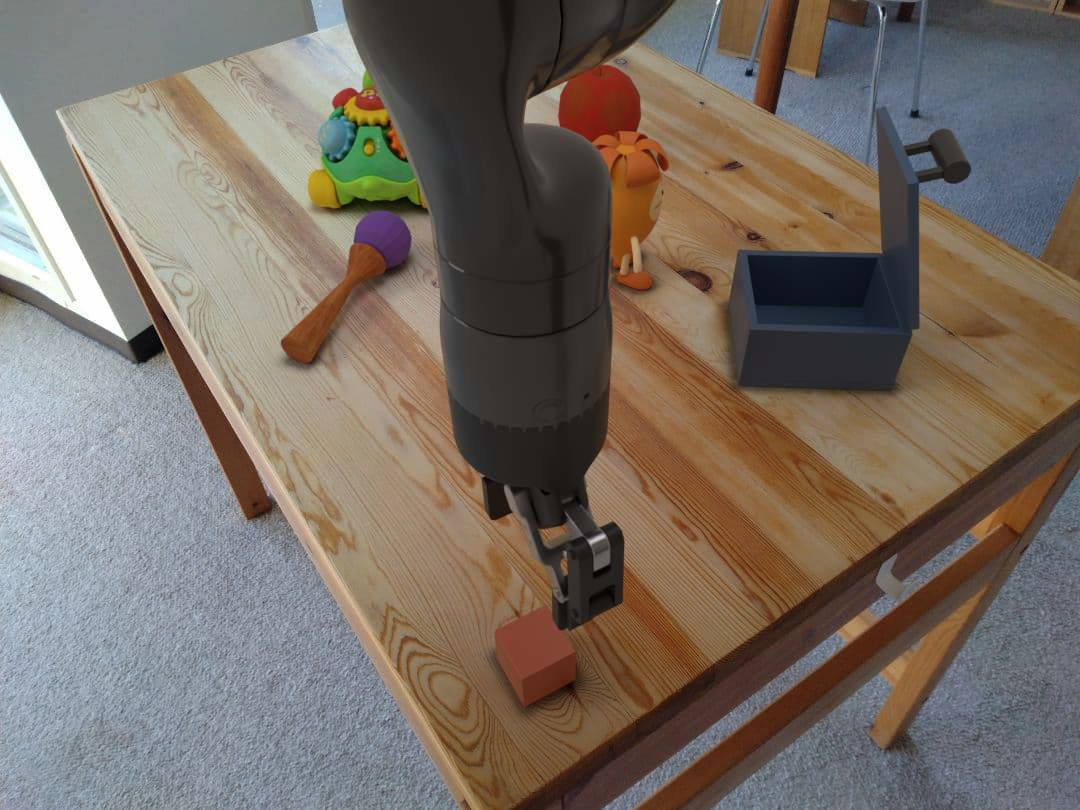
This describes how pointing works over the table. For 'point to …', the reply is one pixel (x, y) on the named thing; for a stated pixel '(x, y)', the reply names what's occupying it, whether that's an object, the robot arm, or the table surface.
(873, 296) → the dark blue box
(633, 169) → the toy figure
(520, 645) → the block
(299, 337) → the purple toy maraca
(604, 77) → the apple
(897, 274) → the lid
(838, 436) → the table surface
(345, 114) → the turtle toy
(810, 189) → the table surface
